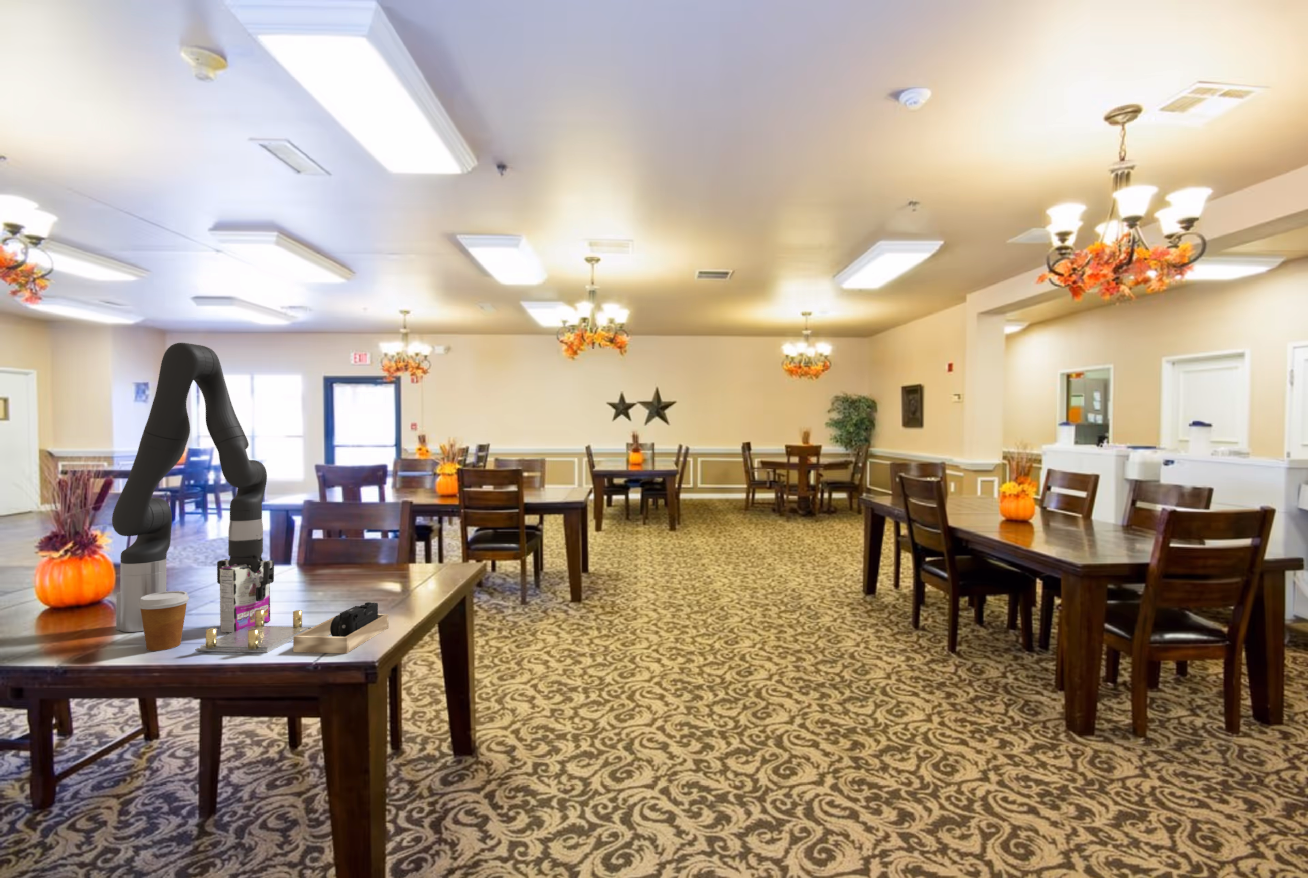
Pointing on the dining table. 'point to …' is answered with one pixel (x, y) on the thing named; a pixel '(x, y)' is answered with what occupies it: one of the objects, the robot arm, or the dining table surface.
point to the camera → (353, 619)
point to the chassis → (254, 636)
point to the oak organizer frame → (322, 643)
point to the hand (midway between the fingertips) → (245, 600)
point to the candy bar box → (240, 599)
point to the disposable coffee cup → (163, 619)
